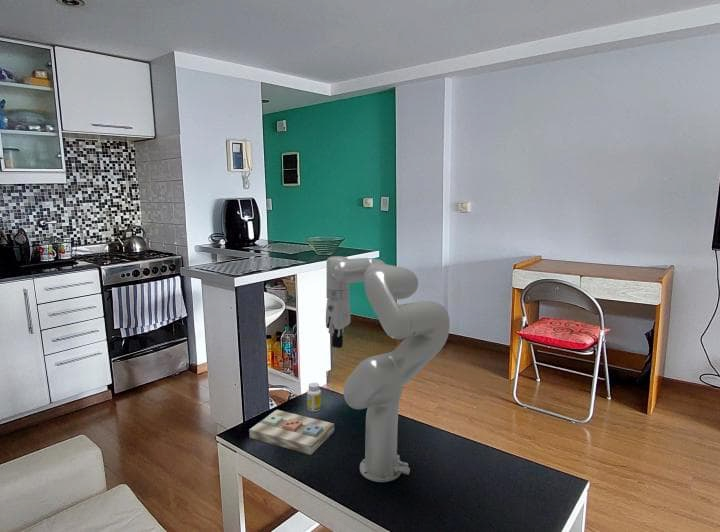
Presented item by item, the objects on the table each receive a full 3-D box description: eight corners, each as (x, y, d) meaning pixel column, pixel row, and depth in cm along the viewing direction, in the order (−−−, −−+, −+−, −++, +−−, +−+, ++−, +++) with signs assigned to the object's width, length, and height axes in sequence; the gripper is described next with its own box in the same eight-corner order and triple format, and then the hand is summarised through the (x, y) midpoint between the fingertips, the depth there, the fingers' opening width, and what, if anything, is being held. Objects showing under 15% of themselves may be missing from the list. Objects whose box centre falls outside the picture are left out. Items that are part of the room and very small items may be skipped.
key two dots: (322, 435, 156) (322, 426, 155) (315, 442, 151) (315, 433, 151) (310, 431, 158) (310, 423, 157) (302, 438, 153) (302, 429, 153)
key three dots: (302, 429, 159) (302, 421, 158) (294, 436, 154) (294, 427, 154) (290, 426, 161) (290, 418, 160) (282, 433, 156) (282, 424, 156)
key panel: (334, 431, 160) (334, 423, 160) (311, 454, 146) (311, 446, 145) (276, 417, 170) (276, 409, 169) (249, 437, 155) (249, 429, 155)
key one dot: (283, 424, 162) (283, 416, 162) (274, 431, 158) (274, 422, 157) (271, 421, 164) (271, 413, 164) (262, 428, 160) (262, 419, 159)
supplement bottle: (322, 405, 179) (322, 382, 178) (319, 412, 174) (319, 388, 173) (308, 405, 180) (308, 381, 178) (305, 411, 175) (305, 387, 173)
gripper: (337, 299, 144) (337, 355, 147) (357, 290, 157) (356, 342, 160) (316, 296, 147) (316, 351, 150) (337, 288, 160) (337, 339, 163)
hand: (337, 346), depth 155 cm, fingers closed
